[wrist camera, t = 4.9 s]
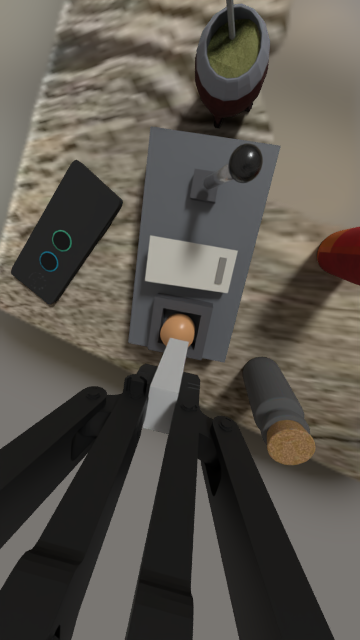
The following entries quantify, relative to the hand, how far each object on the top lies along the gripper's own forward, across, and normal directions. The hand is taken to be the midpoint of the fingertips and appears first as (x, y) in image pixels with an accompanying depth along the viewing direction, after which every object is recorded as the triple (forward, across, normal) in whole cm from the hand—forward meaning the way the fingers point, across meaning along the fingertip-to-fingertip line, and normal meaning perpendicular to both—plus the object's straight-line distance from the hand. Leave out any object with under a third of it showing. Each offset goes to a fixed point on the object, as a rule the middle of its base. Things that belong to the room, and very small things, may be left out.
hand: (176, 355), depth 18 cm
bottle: (+19, -14, +9) cm, 25 cm away
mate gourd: (+19, +1, -25) cm, 32 cm away
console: (+19, +1, -6) cm, 20 cm away
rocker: (+12, +1, -6) cm, 13 cm away
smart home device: (+19, +20, -5) cm, 29 cm away
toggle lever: (+12, +1, -14) cm, 19 cm away
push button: (+12, +1, +2) cm, 12 cm away
